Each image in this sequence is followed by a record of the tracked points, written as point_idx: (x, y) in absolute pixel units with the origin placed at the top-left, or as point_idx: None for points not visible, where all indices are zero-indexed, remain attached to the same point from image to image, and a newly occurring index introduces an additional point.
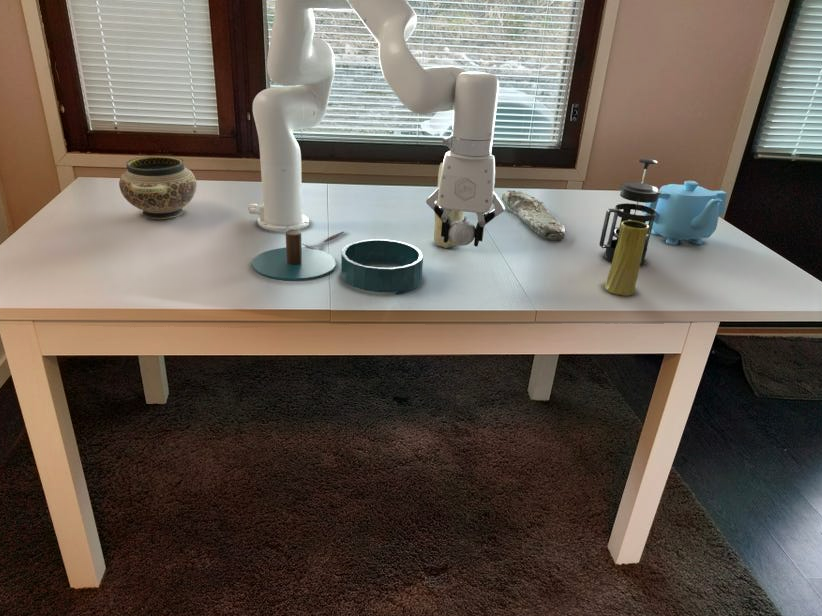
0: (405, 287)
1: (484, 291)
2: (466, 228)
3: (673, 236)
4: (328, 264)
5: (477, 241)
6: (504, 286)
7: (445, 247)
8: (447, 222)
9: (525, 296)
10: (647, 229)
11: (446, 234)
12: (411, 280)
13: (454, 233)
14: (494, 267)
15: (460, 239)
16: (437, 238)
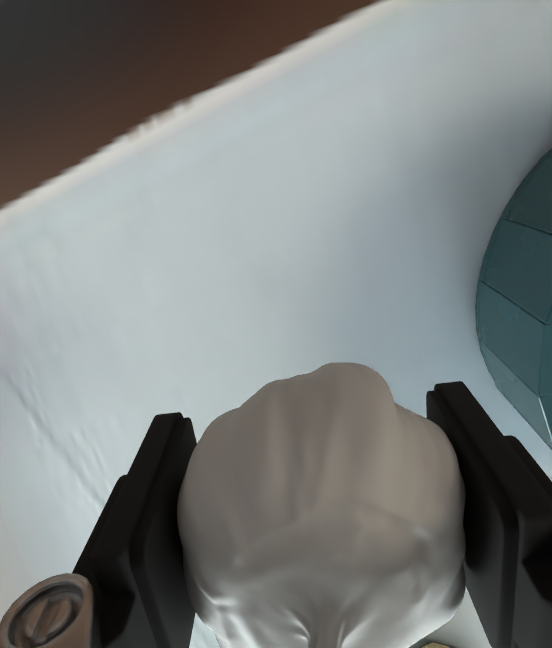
0: (547, 167)
1: (180, 347)
2: (251, 498)
3: None
4: None
5: (148, 438)
6: (122, 427)
7: (435, 644)
8: (532, 544)
9: (9, 371)
10: None
11: (467, 424)
12: (535, 210)
13: (381, 402)
14: None
15: (300, 382)
16: None
